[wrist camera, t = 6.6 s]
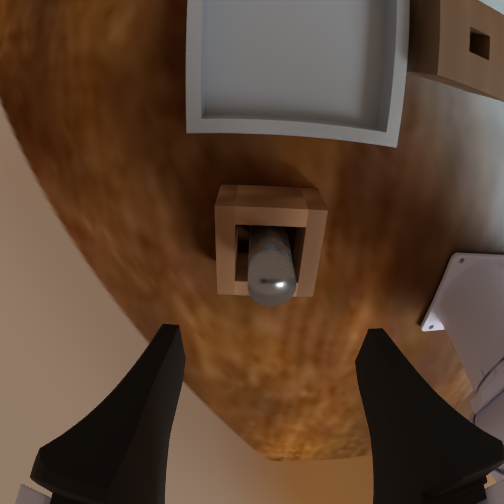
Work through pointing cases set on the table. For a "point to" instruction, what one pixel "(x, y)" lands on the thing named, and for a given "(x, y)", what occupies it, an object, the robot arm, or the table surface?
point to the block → (458, 45)
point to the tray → (297, 68)
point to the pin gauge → (270, 265)
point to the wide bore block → (268, 214)
